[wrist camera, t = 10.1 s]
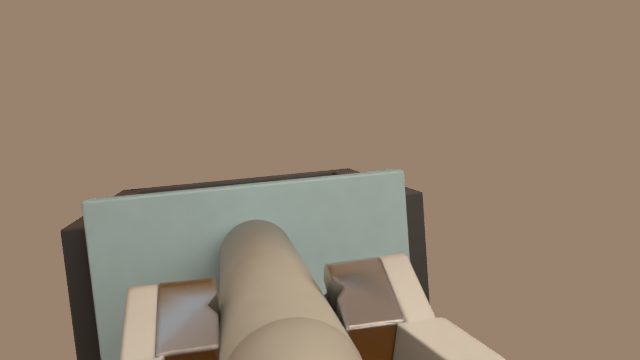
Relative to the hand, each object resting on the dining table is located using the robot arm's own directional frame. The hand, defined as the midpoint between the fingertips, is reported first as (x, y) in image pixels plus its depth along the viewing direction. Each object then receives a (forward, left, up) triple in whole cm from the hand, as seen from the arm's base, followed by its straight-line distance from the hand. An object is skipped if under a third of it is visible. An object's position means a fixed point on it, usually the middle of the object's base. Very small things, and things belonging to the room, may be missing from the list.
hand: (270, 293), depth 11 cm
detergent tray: (0, +6, -4) cm, 7 cm away
